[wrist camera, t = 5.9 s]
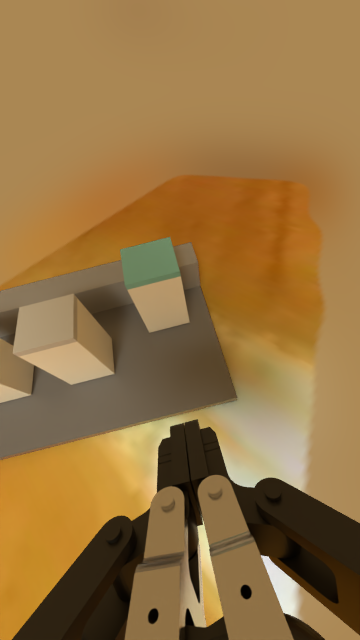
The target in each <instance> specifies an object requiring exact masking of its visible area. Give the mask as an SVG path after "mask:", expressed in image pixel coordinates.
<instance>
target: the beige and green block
mask: <svg viewBox="0 0 360 640" xmlns="http://www.w3.org/2000/svg"><path fill="white" fill-rule="evenodd" d="M120 252H121V260H122V268H123V275H124V283H125V287H126V289H127V290H128V292H129V294H130V296H131V298H132V300H133V302H134V304H135V306H136V308H137V310H138V312H139V314H140V315H141V317H142V319H143V321H144V323H145V325H146V327H147V329H148V331H149V333H150V332H154V331H158V330H162V329H166V328H170V327H174V326H178V325H182V324H186V323H190V321H189V316H188V311H187V306H186V301H185V295H184V290H183V285H182V280H181V275H180V270H179V267H178V263H177V260H176V256H175V253H174V249H173V246H172V242H171V239H170V237H168V238H164V239H160V240H156V241H152V242H148V243H144V244H140V245H136V246H132V247H129V248H125V249H121V250H120Z"/></svg>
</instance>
